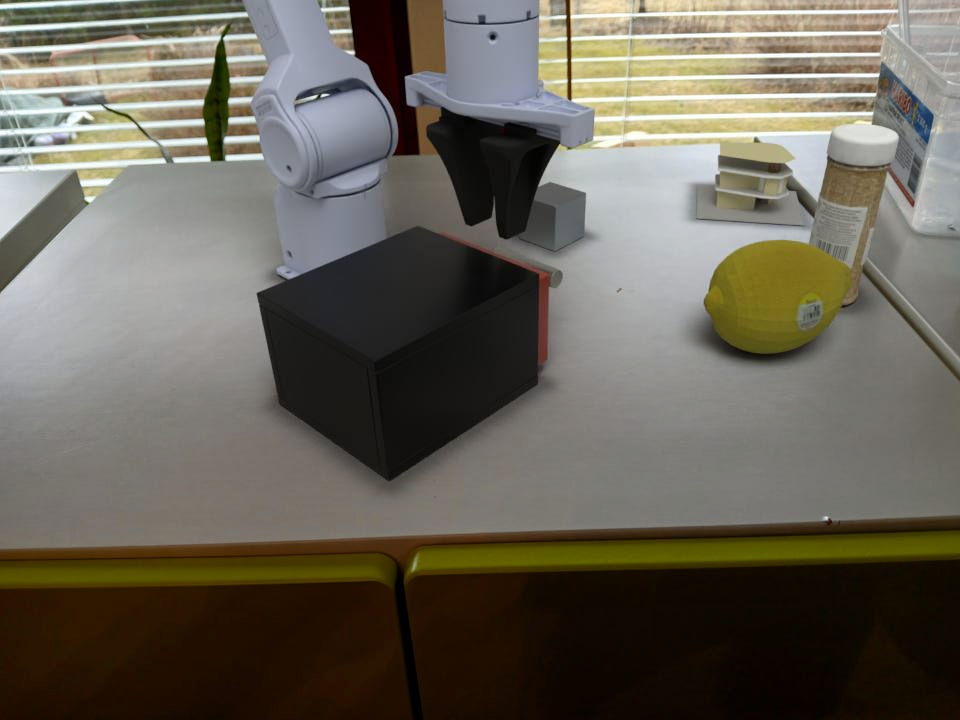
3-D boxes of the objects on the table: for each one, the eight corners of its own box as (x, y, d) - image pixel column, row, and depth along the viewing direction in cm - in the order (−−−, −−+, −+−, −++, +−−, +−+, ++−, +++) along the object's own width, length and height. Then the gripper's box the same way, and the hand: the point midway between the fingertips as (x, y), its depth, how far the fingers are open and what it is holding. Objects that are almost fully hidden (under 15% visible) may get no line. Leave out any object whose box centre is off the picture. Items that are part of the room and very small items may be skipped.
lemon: (710, 377, 55) (727, 274, 51) (680, 321, 62) (692, 225, 57) (863, 368, 56) (892, 265, 51) (816, 313, 62) (839, 218, 58)
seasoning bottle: (868, 297, 64) (914, 132, 57) (832, 314, 62) (875, 144, 54) (820, 276, 67) (857, 117, 60) (784, 291, 65) (818, 129, 58)
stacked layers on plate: (696, 218, 78) (703, 164, 75) (697, 185, 85) (704, 135, 82) (804, 226, 76) (815, 170, 73) (795, 191, 83) (806, 139, 80)
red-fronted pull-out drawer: (483, 292, 65) (480, 214, 61) (584, 336, 58) (588, 252, 55) (315, 378, 55) (300, 292, 51) (416, 443, 49) (407, 350, 45)
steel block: (519, 238, 75) (519, 194, 73) (548, 224, 78) (549, 181, 75) (554, 251, 73) (556, 206, 70) (584, 236, 75) (586, 192, 73)
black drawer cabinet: (425, 327, 62) (417, 224, 57) (538, 383, 55) (540, 273, 50) (278, 403, 54) (255, 292, 49) (389, 481, 47) (374, 361, 42)
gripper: (631, 18, 45) (615, 237, 53) (454, -5, 54) (462, 186, 61) (552, 39, 41) (547, 274, 48) (373, 10, 50) (392, 213, 57)
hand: (495, 227), depth 55 cm, fingers open, 3 cm apart
